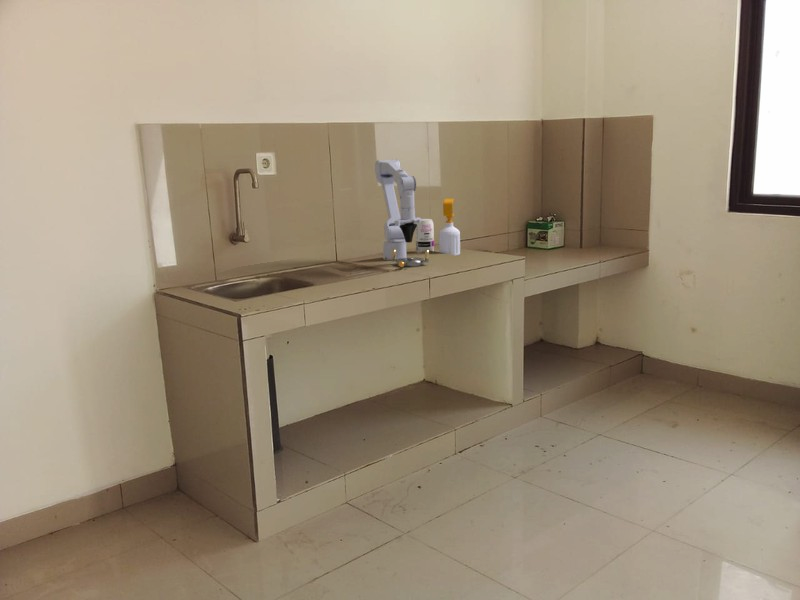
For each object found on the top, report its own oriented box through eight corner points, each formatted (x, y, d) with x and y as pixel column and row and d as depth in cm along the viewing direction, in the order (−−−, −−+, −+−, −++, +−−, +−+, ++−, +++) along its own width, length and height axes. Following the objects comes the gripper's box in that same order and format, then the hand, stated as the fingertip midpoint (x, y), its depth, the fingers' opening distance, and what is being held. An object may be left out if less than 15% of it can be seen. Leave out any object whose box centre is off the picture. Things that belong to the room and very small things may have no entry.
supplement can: (425, 250, 314) (424, 218, 311) (437, 252, 308) (437, 219, 304) (412, 252, 309) (411, 219, 306) (424, 254, 303) (423, 221, 299)
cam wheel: (381, 269, 263) (381, 254, 262) (396, 261, 279) (396, 247, 277) (419, 270, 258) (419, 255, 257) (433, 262, 274) (432, 248, 272)
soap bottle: (461, 253, 303) (461, 197, 298) (457, 256, 295) (457, 199, 289) (442, 253, 306) (441, 198, 300) (437, 256, 297) (436, 199, 291)
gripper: (404, 209, 259) (405, 244, 262) (426, 206, 270) (427, 240, 273) (389, 209, 263) (391, 244, 266) (412, 206, 274) (413, 239, 277)
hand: (408, 242), depth 270 cm, fingers closed
